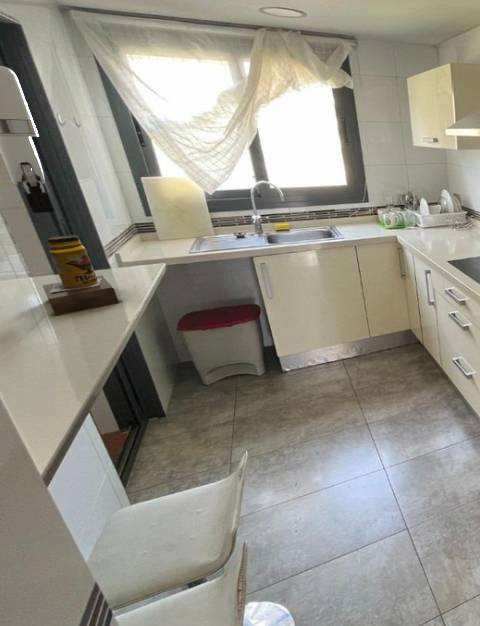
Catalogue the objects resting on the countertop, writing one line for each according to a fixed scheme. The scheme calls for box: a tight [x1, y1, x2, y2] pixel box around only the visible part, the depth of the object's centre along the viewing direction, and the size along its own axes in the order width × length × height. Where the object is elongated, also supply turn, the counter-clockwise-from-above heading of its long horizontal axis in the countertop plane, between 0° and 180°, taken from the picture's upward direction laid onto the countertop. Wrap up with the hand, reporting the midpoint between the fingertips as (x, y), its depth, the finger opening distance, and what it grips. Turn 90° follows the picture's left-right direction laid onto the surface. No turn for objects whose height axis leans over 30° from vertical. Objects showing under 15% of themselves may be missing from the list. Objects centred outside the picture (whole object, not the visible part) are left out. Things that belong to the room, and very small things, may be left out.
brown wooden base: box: [42, 275, 120, 317], centre depth 112 cm, size 11×16×4 cm
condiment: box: [46, 234, 101, 293], centre depth 109 cm, size 7×8×12 cm
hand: (42, 210), depth 104 cm, fingers open, 9 cm apart
